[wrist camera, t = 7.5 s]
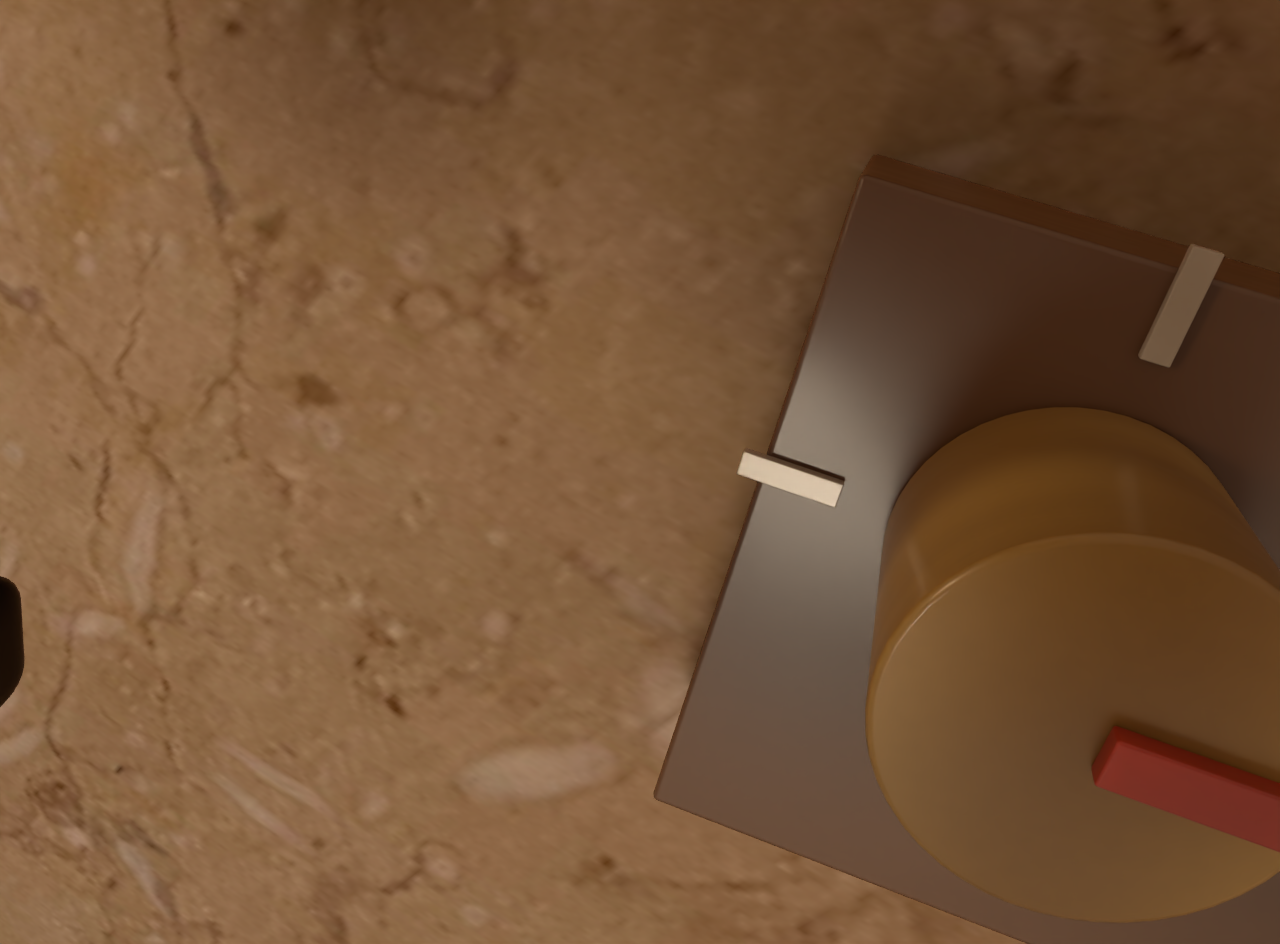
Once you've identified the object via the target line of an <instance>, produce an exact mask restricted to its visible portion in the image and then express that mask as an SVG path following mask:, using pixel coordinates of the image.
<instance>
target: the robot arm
mask: <svg viewBox="0 0 1280 944" xmlns="http://www.w3.org/2000/svg"><path fill="white" fill-rule="evenodd" d="M23 668H24V645H23V628H22V611H21V597H20V592H19V591H18V589H17V587H16V585H15V584H14V583H13V582H11V581H10V580H9V579H7V578H4V577H1V576H0V707H1V706H2V705H3V704H4V702H5V701H6V700H7V699H8V698H9V697H10V695H11V694H12V693H13V692H14V690H15V688H16V687H17V685H18V683H19V681H20V678H21V676H22V673H23Z"/></svg>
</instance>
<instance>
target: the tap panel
mask: <svg viewBox="0 0 1280 944" xmlns="http://www.w3.org/2000/svg"><path fill="white" fill-rule="evenodd" d="M1052 407H1080V408H1088V409H1096V410H1104V411H1108V412H1112V413H1116V414H1120V415H1124V416H1128V417H1131V418H1133V419H1136V420H1138V421H1141V422H1144V423H1146V424H1149V425H1151V426H1153V427H1155V428H1157V429H1159V430H1161V431H1162V432H1164V433H1166V434H1168V435H1170V436H1172V437H1173V438H1175V439H1176V440H1177V441H1179V442H1180V443H1182V444H1183V445H1184V446H1186V447H1187V448H1188V449H1190V450H1191V451H1192V452H1193V453H1194V454H1195V455H1196V456H1198V457H1199V458H1200V459H1201V460H1202V461H1203V462H1204V463H1205V464H1206V465H1207V466H1208V467H1209V468H1210V470H1211V471H1212V472H1213V474H1214V475H1215V476H1216V477H1217V479H1218V480H1219V481H1220V483H1221V484H1222V485H1223V487H1224V488H1225V490H1226V491H1227V493H1228V494H1229V496H1230V497H1231V499H1232V500H1233V502H1234V503H1235V505H1236V506H1237V508H1238V509H1239V511H1240V512H1241V513H1242V515H1243V516H1244V518H1245V519H1246V521H1247V522H1248V524H1249V525H1250V527H1251V528H1252V530H1253V531H1254V533H1255V534H1256V536H1257V537H1258V539H1259V540H1260V542H1261V543H1262V545H1263V546H1264V548H1265V549H1266V551H1267V552H1268V554H1269V555H1270V557H1271V558H1272V560H1273V561H1274V562H1275V564H1276V565H1277V567H1278V568H1279V570H1280V273H1276V272H1273V271H1270V270H1266V269H1263V268H1259V267H1256V266H1253V265H1249V264H1246V263H1243V262H1239V261H1236V260H1232V259H1229V258H1226V257H1224V254H1223V253H1222V252H1219V251H1216V250H1212V249H1209V248H1206V247H1202V246H1199V245H1195V244H1190V246H1189V247H1188V246H1185V245H1182V244H1178V243H1175V242H1172V241H1168V240H1165V239H1161V238H1158V237H1155V236H1151V235H1148V234H1145V233H1141V232H1138V231H1134V230H1131V229H1128V228H1124V227H1121V226H1118V225H1114V224H1111V223H1107V222H1104V221H1101V220H1097V219H1094V218H1091V217H1087V216H1084V215H1080V214H1077V213H1074V212H1070V211H1067V210H1063V209H1060V208H1057V207H1053V206H1050V205H1047V204H1043V203H1040V202H1036V201H1033V200H1030V199H1026V198H1023V197H1020V196H1016V195H1013V194H1009V193H1006V192H1003V191H999V190H996V189H993V188H989V187H986V186H982V185H979V184H976V183H972V182H969V181H966V180H962V179H959V178H955V177H952V176H949V175H945V174H942V173H938V172H935V171H932V170H928V169H925V168H922V167H918V166H915V165H911V164H908V163H905V162H901V161H898V160H895V159H891V158H888V157H884V156H881V155H873V157H872V158H871V159H870V161H869V163H868V164H867V166H866V167H865V169H864V171H863V172H862V174H861V176H860V177H859V179H858V182H857V185H856V188H855V191H854V194H853V197H852V200H851V203H850V206H849V209H848V212H847V215H846V218H845V221H844V224H843V227H842V230H841V233H840V236H839V239H838V242H837V245H836V248H835V251H834V254H833V257H832V260H831V263H830V266H829V269H828V272H827V275H826V278H825V281H824V284H823V287H822V290H821V293H820V296H819V299H818V302H817V305H816V308H815V311H814V314H813V317H812V320H811V323H810V326H809V329H808V332H807V335H806V338H805V341H804V344H803V347H802V350H801V353H800V356H799V359H798V362H797V365H796V368H795V371H794V374H793V377H792V380H791V383H790V386H789V389H788V392H787V395H786V398H785V401H784V404H783V407H782V410H781V413H780V416H779V419H778V422H777V425H776V428H775V431H774V434H773V437H772V440H771V443H770V446H769V449H768V452H767V455H766V454H763V453H760V452H757V451H754V450H751V449H748V448H745V449H744V451H743V454H742V457H741V460H740V463H739V467H738V470H737V474H738V475H741V476H744V477H746V478H749V479H752V480H755V481H758V482H757V485H756V488H755V491H754V494H753V497H752V500H751V503H750V506H749V509H748V512H747V515H746V518H745V521H744V524H743V527H742V530H741V533H740V536H739V539H738V542H737V545H736V548H735V551H734V554H733V557H732V560H731V563H730V566H729V569H728V572H727V575H726V577H725V580H724V583H723V586H722V589H721V592H720V595H719V598H718V601H717V604H716V607H715V610H714V613H713V616H712V619H711V622H710V625H709V628H708V631H707V634H706V637H705V640H704V643H703V646H702V649H701V652H700V655H699V658H698V661H697V664H696V667H695V670H694V673H693V676H692V679H691V682H690V685H689V688H688V691H687V694H686V697H685V700H684V703H683V706H682V709H681V712H680V715H679V718H678V721H677V724H676V727H675V730H674V733H673V736H672V739H671V742H670V745H669V748H668V751H667V754H666V757H665V760H664V763H663V766H662V769H661V772H660V775H659V778H658V781H657V784H656V787H655V790H654V798H655V799H656V800H658V801H661V802H663V803H666V804H669V805H671V806H674V807H676V808H679V809H682V810H684V811H687V812H689V813H692V814H694V815H697V816H700V817H702V818H705V819H707V820H710V821H712V822H715V823H718V824H720V825H723V826H725V827H728V828H731V829H733V830H736V831H738V832H741V833H743V834H746V835H749V836H751V837H754V838H756V839H759V840H761V841H764V842H767V843H769V844H772V845H774V846H777V847H780V848H782V849H785V850H787V851H790V852H792V853H795V854H798V855H800V856H803V857H805V858H808V859H810V860H813V861H816V862H818V863H821V864H823V865H826V866H829V867H831V868H834V869H836V870H839V871H841V872H844V873H847V874H849V875H852V876H854V877H857V878H859V879H862V880H865V881H867V882H870V883H872V884H875V885H878V886H880V887H883V888H885V889H888V890H890V891H893V892H896V893H898V894H901V895H903V896H906V897H908V898H911V899H914V900H916V901H919V902H921V903H924V904H927V905H929V906H932V907H934V908H937V909H939V910H942V911H945V912H947V913H950V914H952V915H955V916H957V917H960V918H963V919H965V920H968V921H970V922H973V923H976V924H978V925H981V926H983V927H986V928H988V929H991V930H994V931H996V932H999V933H1001V934H1004V935H1006V936H1009V937H1012V938H1014V939H1017V940H1019V941H1022V942H1025V943H1027V944H1280V871H1279V872H1278V873H1277V874H1275V875H1274V876H1273V877H1271V878H1270V879H1268V880H1267V881H1266V882H1264V883H1262V884H1260V885H1259V886H1257V887H1255V888H1253V889H1251V890H1250V891H1248V892H1246V893H1244V894H1242V895H1241V896H1238V897H1236V898H1233V899H1231V900H1228V901H1226V902H1224V903H1221V904H1219V905H1216V906H1214V907H1211V908H1207V909H1204V910H1200V911H1197V912H1194V913H1190V914H1187V915H1182V916H1177V917H1171V918H1166V919H1160V920H1154V921H1141V922H1128V923H1116V922H1091V921H1082V920H1074V919H1066V918H1061V917H1057V916H1052V915H1047V914H1043V913H1038V912H1035V911H1032V910H1029V909H1026V908H1023V907H1019V906H1016V905H1013V904H1010V903H1008V902H1006V901H1003V900H1001V899H999V898H996V897H994V896H992V895H990V894H987V893H985V892H983V891H981V890H980V889H978V888H976V887H974V886H973V885H971V884H969V883H967V882H966V881H964V880H962V879H960V878H959V877H958V876H956V875H955V874H953V873H952V872H951V871H949V870H948V869H947V868H945V867H944V866H942V865H941V864H940V863H938V862H937V861H936V860H935V859H934V858H933V857H932V856H931V855H930V854H928V853H927V852H926V851H925V850H924V849H923V848H922V847H921V846H920V845H919V844H918V843H917V842H916V841H915V840H914V838H913V837H912V836H911V835H910V834H909V833H908V831H907V830H906V829H905V828H904V827H903V826H902V824H901V823H900V821H899V820H898V818H897V816H896V815H895V813H894V812H893V810H892V809H891V807H890V806H889V804H888V803H887V801H886V799H885V797H884V795H883V793H882V791H881V789H880V787H879V784H878V782H877V780H876V777H875V774H874V771H873V768H872V765H871V761H870V758H869V754H868V747H867V741H866V734H865V707H866V697H867V687H868V678H869V668H870V659H871V649H872V640H873V630H874V620H875V611H876V601H877V592H878V582H879V573H880V563H881V553H882V547H883V540H884V534H885V530H886V527H887V524H888V521H889V518H890V514H891V512H892V510H893V508H894V506H895V504H896V502H897V500H898V498H899V496H900V494H901V493H902V491H903V490H904V488H905V487H906V485H907V484H908V482H909V480H910V479H911V478H912V477H913V475H914V474H915V473H916V472H917V471H918V470H919V469H920V467H921V466H922V465H923V464H924V463H925V462H926V461H927V460H928V459H929V458H930V457H932V456H933V455H934V454H935V453H936V452H937V451H938V450H940V449H941V448H942V447H943V446H945V445H946V444H948V443H949V442H951V441H952V440H954V439H955V438H957V437H958V436H960V435H961V434H963V433H965V432H967V431H969V430H971V429H973V428H975V427H977V426H979V425H981V424H983V423H986V422H989V421H992V420H994V419H997V418H1000V417H1003V416H1006V415H1010V414H1014V413H1018V412H1023V411H1027V410H1034V409H1043V408H1052Z"/></svg>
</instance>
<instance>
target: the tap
mask: <svg viewBox="0 0 1280 944" xmlns="http://www.w3.org/2000/svg"><path fill="white" fill-rule="evenodd" d="M865 734H866V741H867V747H868V754H869V758H870V761H871V765H872V768H873V771H874V774H875V777H876V780H877V782H878V784H879V787H880V789H881V791H882V793H883V795H884V797H885V799H886V801H887V803H888V804H889V806H890V807H891V809H892V810H893V812H894V813H895V815H896V816H897V818H898V820H899V821H900V823H901V824H902V826H903V827H904V828H905V829H906V830H907V831H908V833H909V834H910V835H911V836H912V837H913V838H914V840H915V841H916V842H917V843H918V844H919V845H920V846H921V847H922V848H923V849H924V850H925V851H926V852H927V853H928V854H930V855H931V856H932V857H933V858H934V859H935V860H936V861H937V862H938V863H940V864H941V865H942V866H944V867H945V868H947V869H948V870H949V871H951V872H952V873H953V874H955V875H956V876H958V877H959V878H960V879H962V880H964V881H966V882H967V883H969V884H971V885H973V886H974V887H976V888H978V889H980V890H981V891H983V892H985V893H987V894H990V895H992V896H994V897H996V898H999V899H1001V900H1003V901H1006V902H1008V903H1010V904H1013V905H1016V906H1019V907H1023V908H1026V909H1029V910H1032V911H1035V912H1038V913H1043V914H1047V915H1052V916H1057V917H1061V918H1066V919H1074V920H1082V921H1091V922H1116V923H1128V922H1141V921H1154V920H1160V919H1166V918H1171V917H1177V916H1182V915H1187V914H1190V913H1194V912H1197V911H1200V910H1204V909H1207V908H1211V907H1214V906H1216V905H1219V904H1221V903H1224V902H1226V901H1228V900H1231V899H1233V898H1236V897H1238V896H1241V895H1242V894H1244V893H1246V892H1248V891H1250V890H1251V889H1253V888H1255V887H1257V886H1259V885H1260V884H1262V883H1264V882H1266V881H1267V880H1268V879H1270V878H1271V877H1273V876H1274V875H1275V874H1277V873H1278V872H1279V871H1280V570H1279V568H1278V567H1277V565H1276V564H1275V562H1274V561H1273V560H1272V558H1271V557H1270V555H1269V554H1268V552H1267V551H1266V549H1265V548H1264V546H1263V545H1262V543H1261V542H1260V540H1259V539H1258V537H1257V536H1256V534H1255V533H1254V531H1253V530H1252V528H1251V527H1250V525H1249V524H1248V522H1247V521H1246V519H1245V518H1244V516H1243V515H1242V513H1241V512H1240V511H1239V509H1238V508H1237V506H1236V505H1235V503H1234V502H1233V500H1232V499H1231V497H1230V496H1229V494H1228V493H1227V491H1226V490H1225V488H1224V487H1223V485H1222V484H1221V483H1220V481H1219V480H1218V479H1217V477H1216V476H1215V475H1214V474H1213V472H1212V471H1211V470H1210V468H1209V467H1208V466H1207V465H1206V464H1205V463H1204V462H1203V461H1202V460H1201V459H1200V458H1199V457H1198V456H1196V455H1195V454H1194V453H1193V452H1192V451H1191V450H1190V449H1188V448H1187V447H1186V446H1184V445H1183V444H1182V443H1180V442H1179V441H1177V440H1176V439H1175V438H1173V437H1172V436H1170V435H1168V434H1166V433H1164V432H1162V431H1161V430H1159V429H1157V428H1155V427H1153V426H1151V425H1149V424H1146V423H1144V422H1141V421H1138V420H1136V419H1133V418H1131V417H1128V416H1124V415H1120V414H1116V413H1112V412H1108V411H1104V410H1096V409H1088V408H1080V407H1052V408H1043V409H1034V410H1027V411H1023V412H1018V413H1014V414H1010V415H1006V416H1003V417H1000V418H997V419H994V420H992V421H989V422H986V423H983V424H981V425H979V426H977V427H975V428H973V429H971V430H969V431H967V432H965V433H963V434H961V435H960V436H958V437H957V438H955V439H954V440H952V441H951V442H949V443H948V444H946V445H945V446H943V447H942V448H941V449H940V450H938V451H937V452H936V453H935V454H934V455H933V456H932V457H930V458H929V459H928V460H927V461H926V462H925V463H924V464H923V465H922V466H921V467H920V469H919V470H918V471H917V472H916V473H915V474H914V475H913V477H912V478H911V479H910V480H909V482H908V484H907V485H906V487H905V488H904V490H903V491H902V493H901V494H900V496H899V498H898V500H897V502H896V504H895V506H894V508H893V510H892V512H891V514H890V518H889V521H888V524H887V527H886V530H885V534H884V540H883V547H882V553H881V563H880V573H879V582H878V592H877V601H876V611H875V620H874V630H873V640H872V649H871V659H870V668H869V678H868V687H867V697H866V707H865Z"/></svg>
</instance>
